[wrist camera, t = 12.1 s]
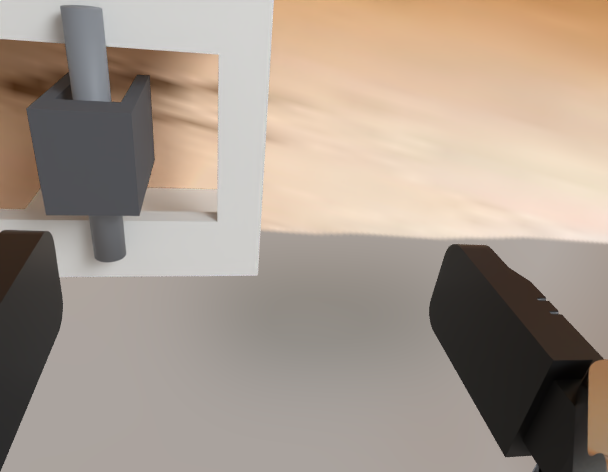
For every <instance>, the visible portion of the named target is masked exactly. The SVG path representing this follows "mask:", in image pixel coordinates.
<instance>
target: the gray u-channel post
mask: <svg viewBox="0 0 608 472" xmlns="http://www.w3.org/2000/svg"><path fill="white" fill-rule="evenodd" d="M26 110H27V115H28V121H29V126H30V131H31V137H32V142H33V148H34V153H35V158H36V164H37V169H38V175H39V180H40V185H41V191H42V196H43V202H44V207H45V213H46V215H71V216H140V212H141V208H142V205H143V201H144V197H145V193H146V190H147V186H148V182H149V178H150V175H151V171H152V167H153V163H154V160H155V158H154V141H153V124H152V107H151V90H150V76H149V75H137V76H136V78H135V79H134V81H133V83H132V85H131V86H130V88H129V90H128V91H127V93H126V95H125V96H124V98H123V100H122V102H103V101H82V100H73V98H72V90H71V83H70V76H69V72H68V73H67V74H66V75H65V76H64V77H62V78H61V79H60V80H59V81H58V82H57V83H56V84H54V85H53V86H52V87H51V88H50V89H49V90H47V91H46V92H45V93H44V94H43V95H42V96H40V97H39V98H38V99H37V100H36V101H35V102H33V103H32V104H31V105H30V106H29V107H28V108H26Z"/></svg>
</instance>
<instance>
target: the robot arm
mask: <svg viewBox="0 0 608 472" xmlns="http://www.w3.org/2000/svg"><path fill="white" fill-rule="evenodd" d="M62 312H63V301H62V292H61V285H60V278H59V272H58V265H57V258H56V251H55V244H54V240H53V236H52V234H51V233H50V232H49V231H31V230H3V231H1V232H0V471H1V468H2V466H3V464H4V461H5V459H6V457H7V454H8V452H9V449H10V447H11V444H12V442H13V440H14V437H15V435H16V433H17V430H18V428H19V426H20V423H21V421H22V418H23V416H24V414H25V411H26V409H27V406H28V404H29V402H30V399H31V397H32V394H33V392H34V390H35V387H36V385H37V382H38V380H39V377H40V375H41V373H42V370H43V368H44V365H45V363H46V361H47V358H48V356H49V354H50V351H51V349H52V346H53V344H54V341H55V339H56V337H57V334H58V332H59V329H60V325H61V320H62ZM429 316H430V322H431V326H432V329H433V331H434V333H435V334H436V336H437V338H438V340H439V342H440V343H441V345H442V347H443V348H444V350H445V352H446V354H447V356H448V357H449V359H450V361H451V362H452V364H453V366H454V368H455V370H456V371H457V373H458V375H459V377H460V378H461V380H462V382H463V384H464V385H465V387H466V389H467V391H468V393H469V394H470V396H471V398H472V399H473V401H474V403H475V405H476V407H477V408H478V410H479V412H480V414H481V415H482V417H483V419H484V421H485V422H486V424H487V426H488V428H489V429H490V431H491V433H492V435H493V436H494V438H495V440H496V442H497V444H498V445H499V447H500V449H501V450H502V452H503V454H504V456H505V457H516V456H531V455H532V456H533V458H534V460H535V461H536V463H537V464H536V467H535V468H534V470H533V472H608V359H603V358H602V357H601V356H600V355H599V353H598V352H596V351H595V349H594V348H593V347H592V346H591V345H590V344H589V343H588V342H587V341H586V340H585V339H584V338H583V337H582V335H580V333H579V332H578V331H577V330H576V329H575V328H574V327H573V326H572V325H571V324H570V323H569V322H568V321H567V320H566V319H565V318H564V316H563V315H560V314H558V310H557V309H556V308H555V307H554V306H553V305H552V304H551V303H550V302H549V301H546V297H545V296H544V295H543V294H542V293H541V292H540V291H539V290H538V289H537V288H536V287H535V286H534V285H533V284H532V283H531V282H530V281H529V280H527V279H526V278H524V277H522V276H521V275H519V274H518V273H516V272H515V271H513V270H511V269H510V268H509V267H508V266H507V265H506V264H505V263H504V262H503V261H502V260H501V259H500V258H499V257H498V256H497V254H496V253H495V252H494V251H493V250H492V249H491V248H490V247H489V246H486V245H463V244H461V245H460V244H453V245H451V246H450V247H449V248H448V249H447V251H446V253H445V256H444V259H443V262H442V266H441V269H440V272H439V275H438V279H437V282H436V285H435V288H434V292H433V295H432V298H431V301H430V307H429Z"/></svg>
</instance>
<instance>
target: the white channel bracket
mask: <svg viewBox="0 0 608 472" xmlns="http://www.w3.org/2000/svg"><path fill="white" fill-rule="evenodd" d="M273 4H274V0H0V39H9V40H23V41H37V42H51V43H65V47H66V54H67V61H68V69H69V76H70V83H71V90H72V98H73V100H82V101H103V102H111V92H110V82H109V72H108V62H107V52H106V46H107V47H121V48H135V49H149V50H163V51H177V52H191V53H205V54H219V72H218V189H189V188H147V190H146V193H145V197H144V201H143V205H142V208H141V212H140V216H71V215H46V213H45V207H44V202H43V196H42V191H41V188H40V189H39V191H38V192H37V193H36V195H35V196H34V197H33V199H32V200H31V201H30V203H29V204H28V206H27V207H26V208H25V209H0V232H1V231H3V230H31V231H49V232H50V233H51V234H52V236H53V240H54V244H55V251H56V258H57V265H58V272H59V277H135V276H136V277H139V276H140V277H143V276H245V275H246V276H249V275H250V276H252V275H253V276H254V275H255V276H256V275H258V262H259V246H260V229H261V211H262V194H263V177H264V160H265V142H266V125H267V108H268V91H269V73H270V56H271V39H272V22H273Z"/></svg>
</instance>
